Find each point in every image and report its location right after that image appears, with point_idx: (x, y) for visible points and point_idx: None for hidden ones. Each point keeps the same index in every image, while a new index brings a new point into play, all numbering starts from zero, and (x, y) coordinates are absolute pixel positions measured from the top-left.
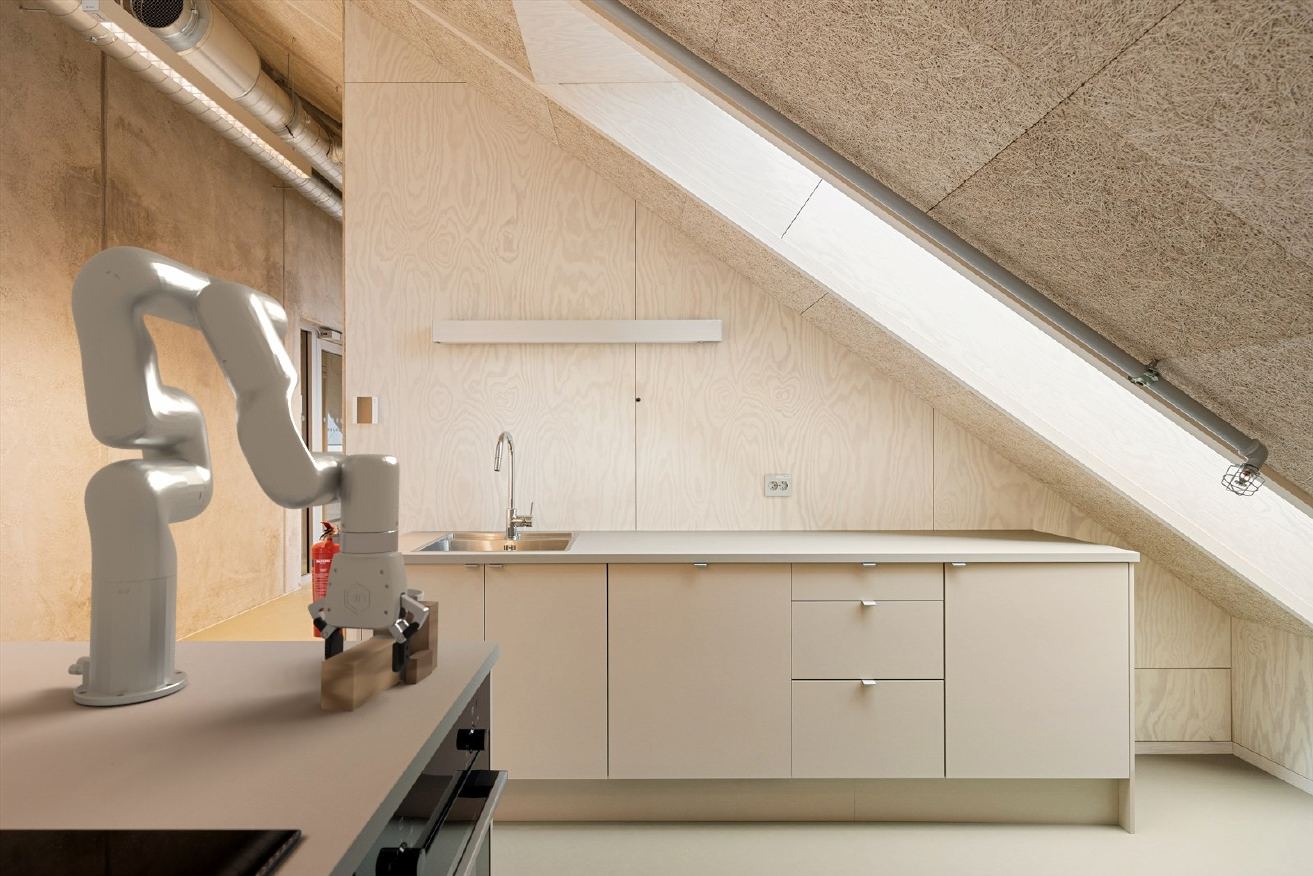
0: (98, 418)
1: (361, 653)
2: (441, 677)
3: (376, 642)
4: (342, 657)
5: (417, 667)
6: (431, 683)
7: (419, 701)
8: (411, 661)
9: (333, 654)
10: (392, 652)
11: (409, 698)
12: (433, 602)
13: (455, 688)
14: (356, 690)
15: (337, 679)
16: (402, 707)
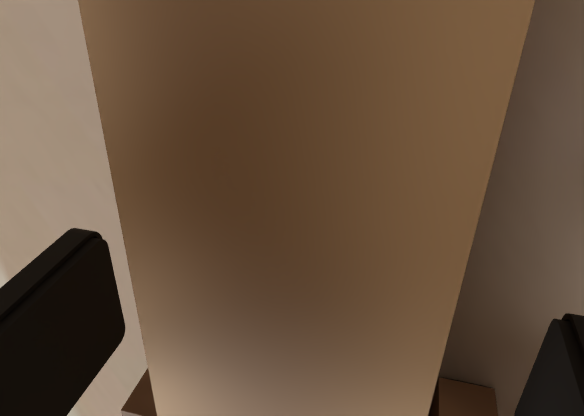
0: None
1: (235, 314)
2: (132, 376)
3: None
4: (343, 193)
5: (144, 379)
6: (126, 322)
7: (32, 122)
8: (154, 404)
9: (567, 413)
10: (14, 316)
11: (95, 158)
12: None
13: (12, 270)
14: None
15: None
16: (45, 34)
